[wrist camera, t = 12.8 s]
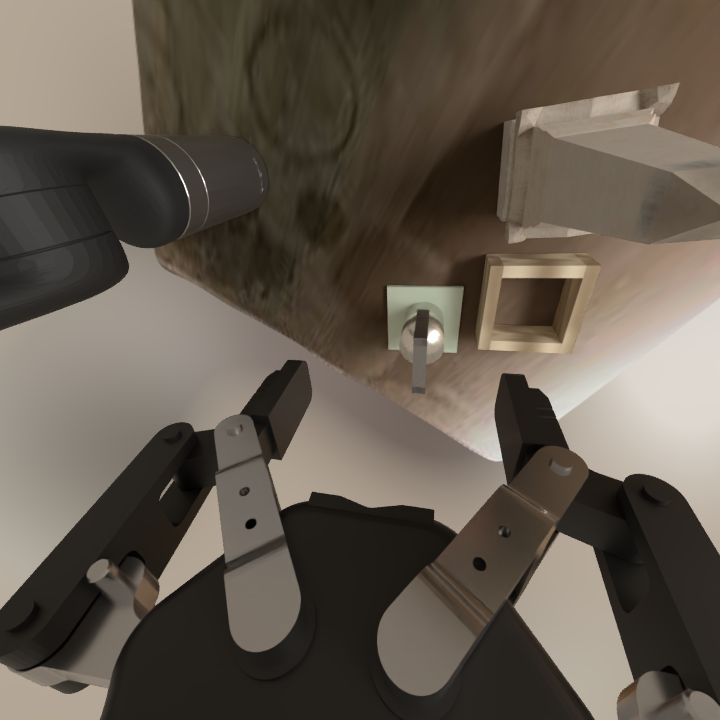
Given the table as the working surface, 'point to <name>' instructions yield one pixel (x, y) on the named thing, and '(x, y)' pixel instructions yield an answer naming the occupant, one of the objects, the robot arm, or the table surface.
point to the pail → (422, 340)
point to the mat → (407, 296)
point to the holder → (569, 311)
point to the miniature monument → (607, 172)
